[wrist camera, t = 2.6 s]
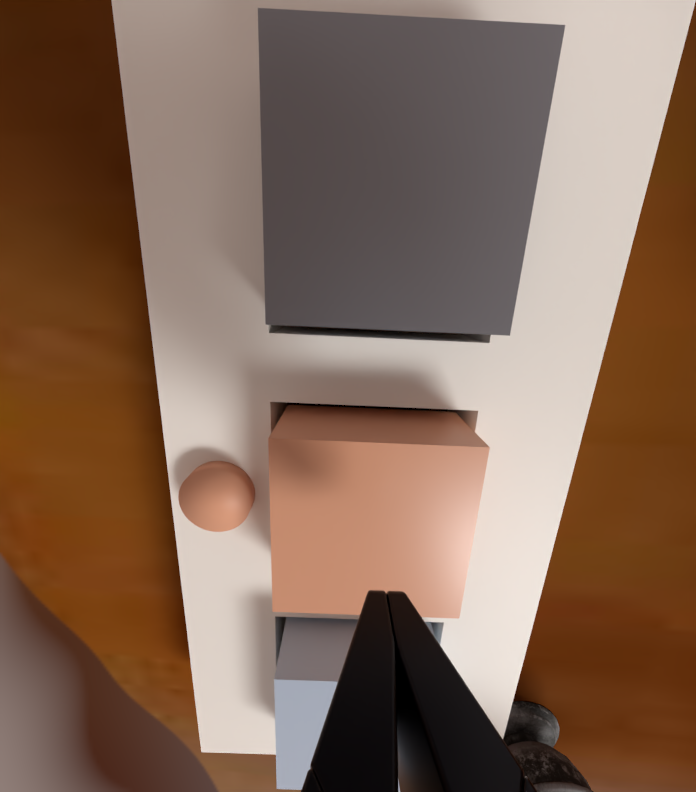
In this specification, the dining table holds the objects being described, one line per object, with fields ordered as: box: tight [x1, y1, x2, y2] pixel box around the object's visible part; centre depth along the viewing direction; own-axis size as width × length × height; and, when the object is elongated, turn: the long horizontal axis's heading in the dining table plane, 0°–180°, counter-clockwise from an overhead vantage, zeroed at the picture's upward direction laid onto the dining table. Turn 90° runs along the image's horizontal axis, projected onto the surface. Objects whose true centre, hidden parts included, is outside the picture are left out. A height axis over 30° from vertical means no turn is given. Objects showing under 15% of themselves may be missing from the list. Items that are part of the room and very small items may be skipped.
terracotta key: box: [268, 405, 490, 619], centre depth 11 cm, size 6×6×3 cm
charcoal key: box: [258, 8, 565, 336], centre depth 9 cm, size 6×6×3 cm
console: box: [111, 0, 696, 754], centre depth 13 cm, size 28×14×4 cm, turn 177°
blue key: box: [274, 617, 435, 792], centre depth 14 cm, size 6×6×3 cm
